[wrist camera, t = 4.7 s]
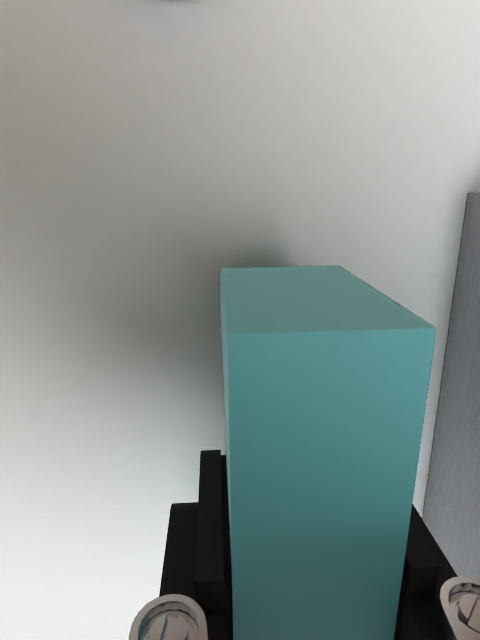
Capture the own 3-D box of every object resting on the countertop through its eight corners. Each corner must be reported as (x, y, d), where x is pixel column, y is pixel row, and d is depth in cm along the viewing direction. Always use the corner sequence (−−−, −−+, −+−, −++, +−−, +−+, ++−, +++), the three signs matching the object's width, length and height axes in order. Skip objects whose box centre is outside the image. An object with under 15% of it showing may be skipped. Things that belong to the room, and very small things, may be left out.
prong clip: (218, 246, 15) (227, 334, 6) (306, 244, 15) (435, 327, 6) (225, 529, 18) (236, 837, 10) (295, 525, 18) (368, 825, 10)
